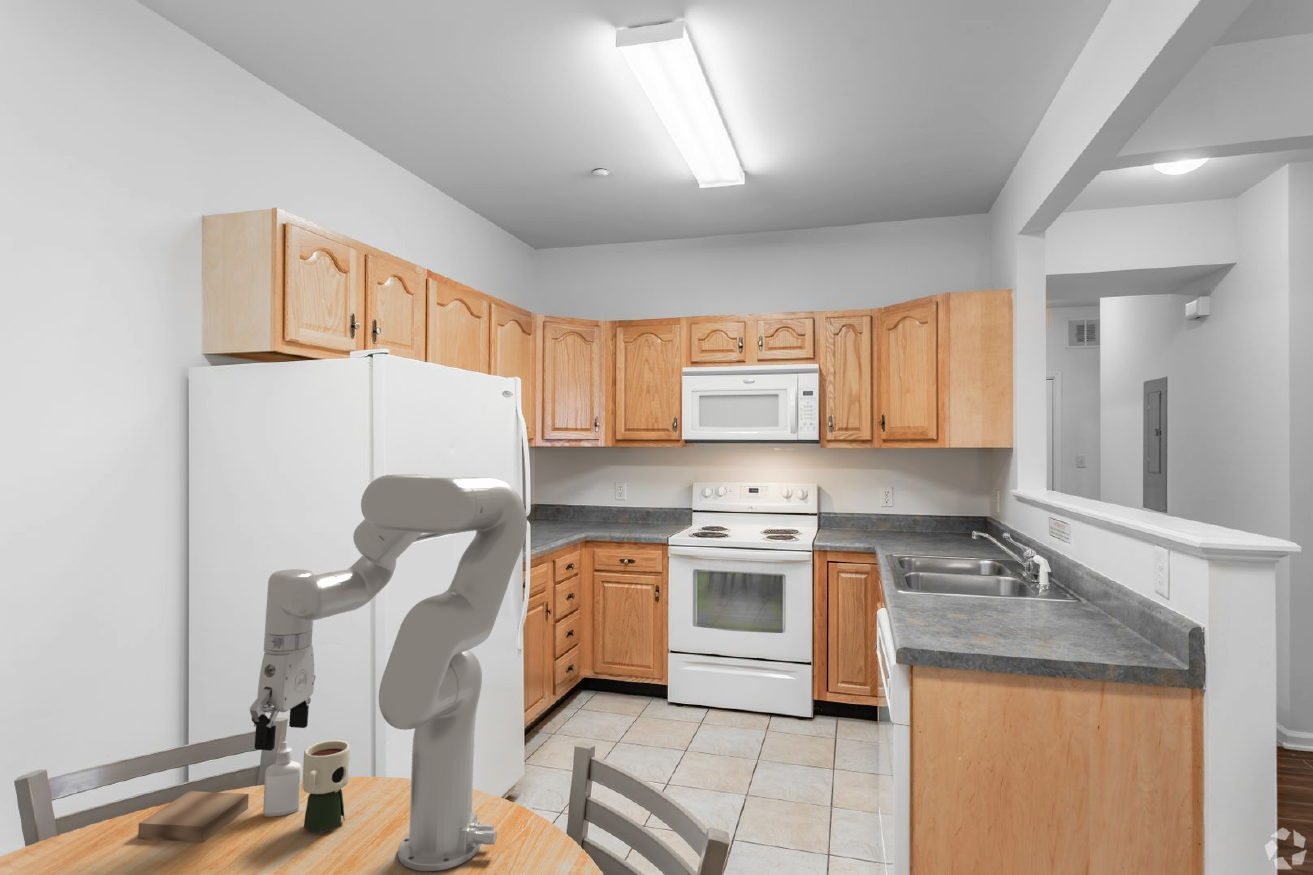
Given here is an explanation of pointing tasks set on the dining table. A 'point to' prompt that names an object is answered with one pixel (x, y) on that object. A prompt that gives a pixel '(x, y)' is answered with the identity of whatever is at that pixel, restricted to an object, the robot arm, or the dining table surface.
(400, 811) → the dining table surface
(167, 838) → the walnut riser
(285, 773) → the eye dropper bottle
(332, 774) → the character mug
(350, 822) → the dining table surface
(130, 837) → the dining table surface
